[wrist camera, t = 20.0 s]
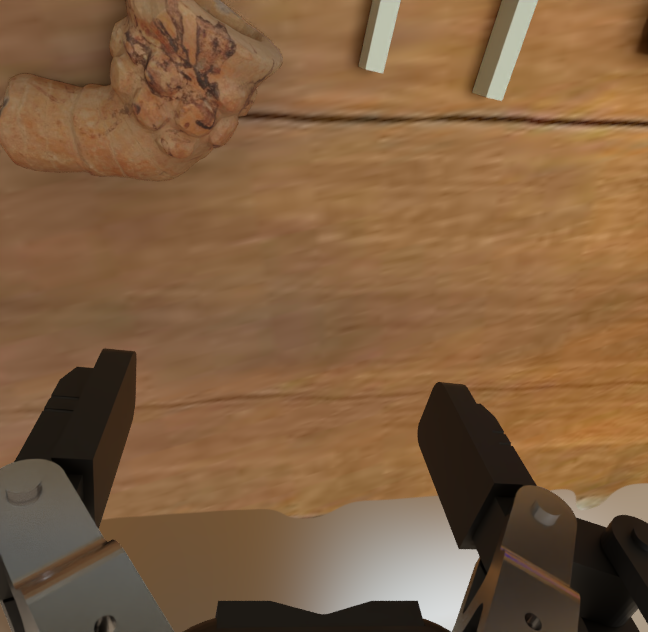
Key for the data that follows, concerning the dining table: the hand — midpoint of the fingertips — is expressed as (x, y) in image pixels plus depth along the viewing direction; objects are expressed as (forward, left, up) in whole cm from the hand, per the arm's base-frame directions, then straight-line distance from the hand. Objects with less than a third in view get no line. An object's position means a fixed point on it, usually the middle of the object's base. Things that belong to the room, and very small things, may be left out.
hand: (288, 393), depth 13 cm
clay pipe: (-9, +3, -33) cm, 35 cm away
